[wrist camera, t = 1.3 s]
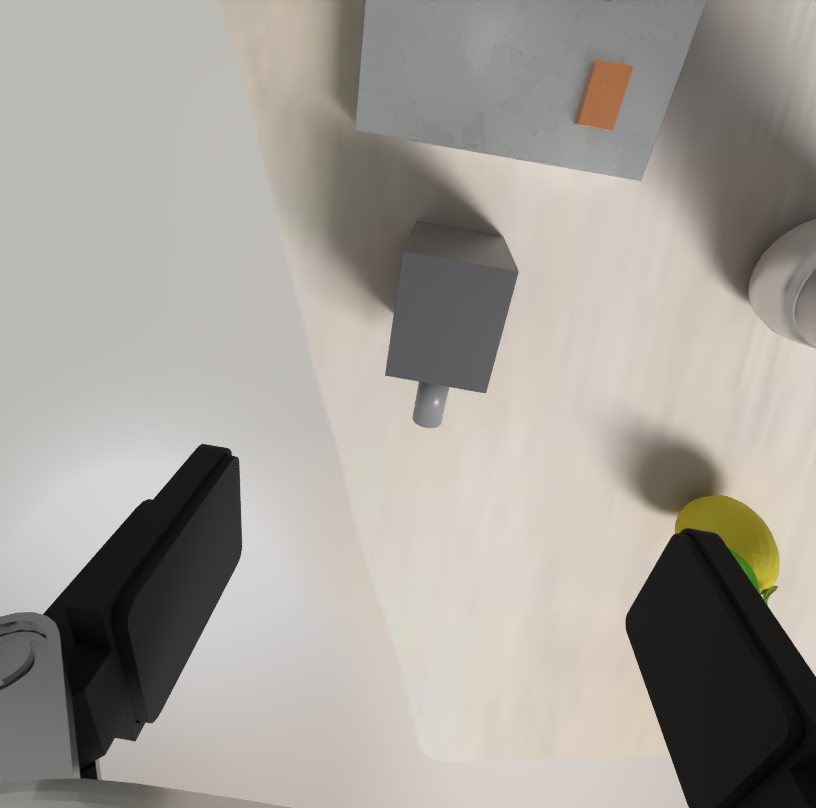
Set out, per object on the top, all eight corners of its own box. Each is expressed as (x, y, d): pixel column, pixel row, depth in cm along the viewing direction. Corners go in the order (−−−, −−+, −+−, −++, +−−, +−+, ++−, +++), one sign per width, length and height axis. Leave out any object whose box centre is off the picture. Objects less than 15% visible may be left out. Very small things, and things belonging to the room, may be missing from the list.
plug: (417, 221, 27) (403, 250, 20) (503, 236, 27) (518, 271, 20) (395, 362, 32) (378, 426, 25) (469, 375, 32) (472, 443, 25)
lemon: (659, 469, 34) (729, 584, 25) (749, 465, 33) (853, 583, 24) (648, 538, 37) (706, 661, 28) (730, 536, 36) (816, 662, 27)
